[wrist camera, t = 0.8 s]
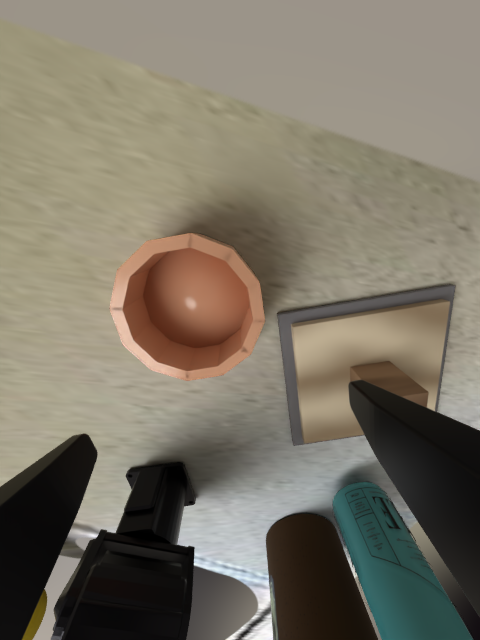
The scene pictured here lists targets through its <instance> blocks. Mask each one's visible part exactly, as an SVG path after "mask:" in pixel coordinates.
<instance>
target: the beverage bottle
mask: <svg viewBox="0 0 480 640" xmlns="http://www.w3.org/2000/svg"><path fill="white" fill-rule="evenodd" d="M386 494H387V493H386V492H384V491H383V490H382V489H381V488H380V487H379V486H377V485H375V484H373V483H369V482H358V483H354V484H350V485H348V486H346V487H344V488H342V489H341V490H340V491H339V492H338V493H337V494H336V495H335V497H334V499H333V511H334V518H335V517H336V523H337V525H338V528H339V532H340V531H341V532H340V533H342V539H343V538H344V541H345V544H344V545H346V546H347V549H348V551H347V550H346V551H347V553H348V552H349V553H348V555H349V554H350V557H351V563H352V565H354V567H355V572H356V573H357V575H358V578H359V581H360V583H361V586H362V589H363V591H364V594H365V597H366V599H367V602H368V605H369V607H370V609H371V612H372V614H373V617H374V619H375V622H376V625H377V627H378V630H379V633H380V635H381V638H382V640H473V639H472V637H471V635H470V634H469V632H468V630H467V628H466V626H465V625H464V623H463V621H462V619H461V618H460V616H459V614H458V613H457V611H456V609H455V608H454V606H455V605H454V606H453V603H451V600H450V599H449V598H448V596H447V594H446V593H445V591H444V589H443V588H442V586H441V584H440V583H439V581H438V579H437V578H436V576H435V574H434V573H433V571H432V569H431V568H430V566H429V565H428V562H427V561H426V560H425V557H424V556H423V555H422V553H421V551H420V550H419V548H418V546H417V545H416V543H415V541H416V540H415V541H414V540H413V538H412V536H411V535H410V533H411V532H410V530H409V528H407V526H406V525H405V524H406V523H404V521H403V520H402V519H403V518H402V517H401V516H400V515H399V514H400V513H398V511H397V510H396V509H397V508H395V507H394V506H395V505H394V504H393V503H392V502H391V501H390V500H391V499H390V498H388V497H387V495H386ZM389 499H390V500H389ZM352 567H353V566H352ZM353 570H354V569H353ZM355 575H356V574H355ZM455 607H456V606H455Z"/></svg>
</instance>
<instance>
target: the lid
mask: <svg viewBox="0 0 480 640" xmlns="http://www.w3.org/2000/svg"><path fill="white" fill-rule="evenodd" d="M449 306H450V301H447V300H444V299H438V300H432V301H426V302H420V303H414V304H408V305H402V306H396V307H390V308H384V309H378V310H372V311H366V312H360V313H354V314H348V315H342V316H336V317H330V318H324V319H317V320H311V321H305V322H299V323H293V324H291V330H292V340H293V350H294V360H295V370H296V380H297V390H298V400H299V410H300V420H301V429H302V438H303V441H304V444H305V443H312V442H318V441H325V440H332V439H339V438H345V437H352V436H359V435H364V433H363V431H362V429H361V427H360V425H359V423H358V421H357V419H356V417H355V415H354V413H353V411H352V409H351V406H350V402H349V388H348V385H349V382H351V381H355V380H364V381H367V382H369V383H371V384H374V385H376V386H378V387H381V388H383V389H385V390H387V391H390V392H392V393H394V394H397V395H399V396H401V397H404V398H406V399H408V400H410V401H413V402H415V403H417V404H420V405H422V406H424V407H426V408H429V409H431V410H433V411H435V405H436V398H437V391H438V384H439V376H440V369H441V362H442V355H443V348H444V341H445V334H446V327H447V320H448V313H449Z"/></svg>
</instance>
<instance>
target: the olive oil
mask: <svg viewBox="0 0 480 640" xmlns="http://www.w3.org/2000/svg"><path fill="white" fill-rule="evenodd" d="M266 548H267V560H268V572H269V586H270V598H271V612H272V626H273V640H378V638H377V635H376V633H375V630H374V628H373V625H372V623H371V620H370V618H369V615H368V612H367V610H366V607H365V605H364V602H363V599H362V597H361V594H360V592H359V589H358V587H357V584H356V581H355V579H354V576H353V573H352V571H351V568H350V565H349V563H348V560H347V557H346V555H345V552H344V549H343V547H342V544H341V541H340V539H339V536H338V534H337V531H336V529H335V527H334V525H333V524H332V523H331V522H330V521H329V520H327V519H326V518H324V517H322V516H319V515H314V514H297V515H292V516H289V517H286V518H284V519H282V520H280V521H278V522H277V523H275V524H274V525H273V526H272V527H271V528H270V530H269V531H268V533H267V536H266Z"/></svg>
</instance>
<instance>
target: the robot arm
mask: <svg viewBox="0 0 480 640" xmlns="http://www.w3.org/2000/svg"><path fill="white" fill-rule="evenodd" d="M348 388H349V402H350V406H351V409H352V411H353V413H354V415H355V417H356V419H357V421H358V423H359V425H360V427H361V429H362V431H363V433H364V435H365V436H366V438H367V440H368V442H369V444H370V446H371V448H372V450H373V452H374V454H375V455H376V457H377V459H378V460H379V462H380V464H381V465H382V467H383V468H384V470H385V471H386V473H387V474H388V476H389V477H390V479H391V481H392V482H393V484H394V485H395V487H396V488H397V490H398V491H399V493H400V494H401V496H402V498H403V499H404V501H405V502H406V504H407V505H408V507H409V508H410V510H411V511H412V513H413V515H414V516H415V518H416V519H417V521H418V522H419V524H420V525H421V527H422V528H423V530H424V532H425V533H426V535H427V536H428V538H429V539H430V541H431V542H432V544H433V545H434V547H435V549H436V550H437V552H438V553H439V555H440V556H441V558H442V559H443V561H444V563H445V564H446V566H447V567H448V568H449V570H450V572H451V573H452V575H453V576H454V578H455V579H456V581H457V582H458V584H459V586H460V587H461V589H462V590H463V592H464V593H465V595H466V597H467V598H468V600H469V601H470V603H471V604H472V606H473V607H474V609H475V610H476V612H477V613H478V615H479V616H480V431H479V430H477V429H475V428H472V427H470V426H468V425H466V424H463V423H461V422H459V421H456V420H454V419H452V418H449V417H447V416H445V415H443V414H440V413H438V412H436V411H433V410H431V409H429V408H426V407H424V406H422V405H420V404H417V403H415V402H413V401H410V400H408V399H406V398H404V397H401V396H399V395H397V394H394V393H392V392H390V391H387V390H385V389H383V388H381V387H378V386H376V385H374V384H371V383H369V382H367V381H364V380H355V381H351V382H349V385H348ZM96 460H97V450H96V448H95V446H94V444H93V442H92V441H91V439H90V437H89V435H87V434H79V435H75V436H72V437H71V438H69V439H68V440H66V441H65V442H63V443H62V444H61V445H59V446H58V447H56V448H55V449H53V450H52V451H51V452H49V453H48V454H46V455H45V456H44V457H42V458H41V459H39V460H38V461H36V462H35V463H34V464H32V465H31V466H29V467H28V468H26V469H25V470H24V471H22V472H21V473H19V474H18V475H17V476H15V477H14V478H12V479H11V480H9V481H8V482H7V483H5V484H4V485H2V486H1V487H0V640H22V638H23V636H24V634H25V632H26V629H27V627H28V625H29V623H30V620H31V618H32V616H33V613H34V611H35V609H36V607H37V604H38V602H39V600H40V597H41V595H42V593H43V591H44V588H45V586H46V583H47V582H48V579H49V577H50V575H51V572H52V570H53V568H54V565H55V563H56V561H57V559H58V556H59V554H60V552H61V550H62V547H63V545H64V543H65V540H66V538H67V536H68V534H69V531H70V529H71V527H72V525H73V522H74V520H75V518H76V515H77V513H78V510H79V508H80V505H81V503H82V500H83V497H84V494H85V491H86V488H87V486H88V483H89V480H90V477H91V474H92V471H93V468H94V465H95V463H96ZM126 478H127V480H128V482H129V484H130V486H131V489H132V491H131V493H130V496H129V498H128V501H127V503H126V506H125V508H124V513H123V516H122V518H121V521H120V523H119V526H118V528H117V531H116V533H111V532H107V530H102V529H101V531H100V533H99V535H98V537H97V538H96V539H93V540H90V541H89V543H88V546H87V548H86V550H85V552H84V554H83V556H82V558H81V560H80V562H79V564H78V566H77V568H76V570H75V571H74V573H73V575H72V576H71V578H70V580H69V582H68V583H67V585H66V587H65V588H64V590H63V592H62V594H61V595H60V597H59V599H58V601H57V603H56V605H55V607H54V614H55V619H56V622H55V624H54V627H53V631H54V632H53V635H52V638H51V640H186V637H187V632H188V626H189V620H190V613H191V603H192V587H193V567H194V547H192V546H189V547H185V546H180V545H177V542H178V537H179V531H180V526H181V520H182V515H183V510H184V506H189V505H194V504H195V501H196V498H195V495H194V492H193V489H192V486H191V483H190V480H189V477H188V474H187V471H186V468H185V465H184V464H183V463H181V462H177V463H170V464H164V465H157V466H150V467H144V468H137V469H130V470H128V471H127V474H126Z"/></svg>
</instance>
